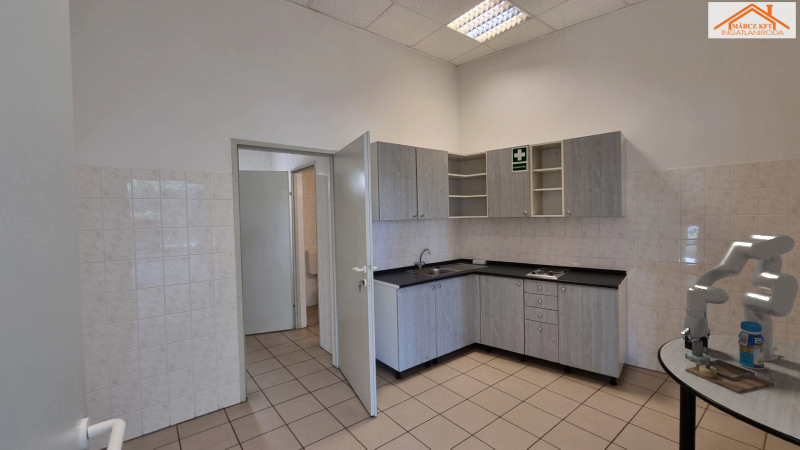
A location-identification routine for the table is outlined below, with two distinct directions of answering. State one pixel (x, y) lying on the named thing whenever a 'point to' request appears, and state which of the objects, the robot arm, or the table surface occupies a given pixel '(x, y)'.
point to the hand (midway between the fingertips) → (696, 347)
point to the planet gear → (697, 352)
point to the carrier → (729, 376)
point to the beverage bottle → (751, 346)
